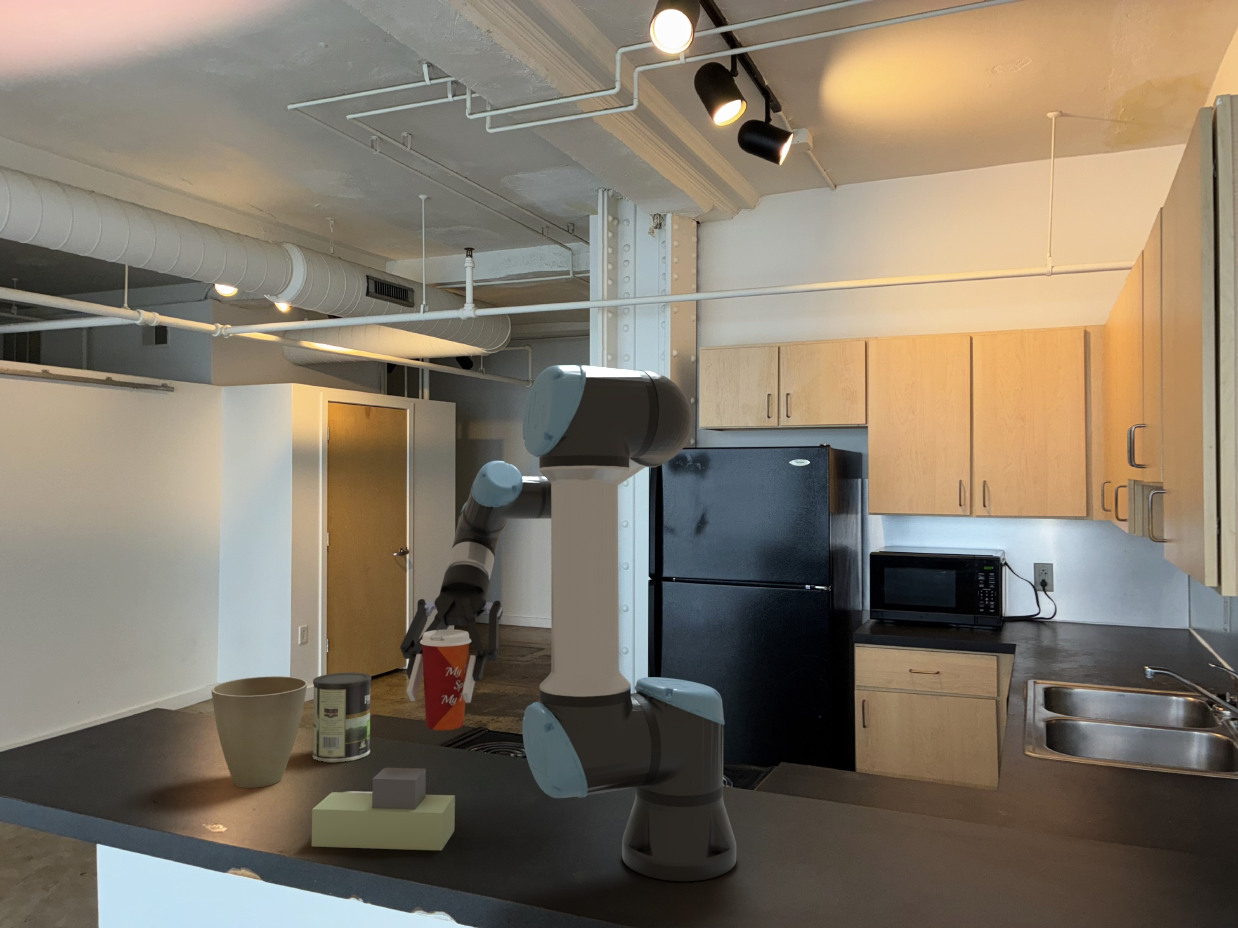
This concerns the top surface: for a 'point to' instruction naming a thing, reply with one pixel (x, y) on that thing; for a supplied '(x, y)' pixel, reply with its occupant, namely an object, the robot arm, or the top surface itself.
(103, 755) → the top surface
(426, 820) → the green block with cube
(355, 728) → the coffee can
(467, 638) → the paper cup
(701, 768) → the robot arm
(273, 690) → the plant pot
